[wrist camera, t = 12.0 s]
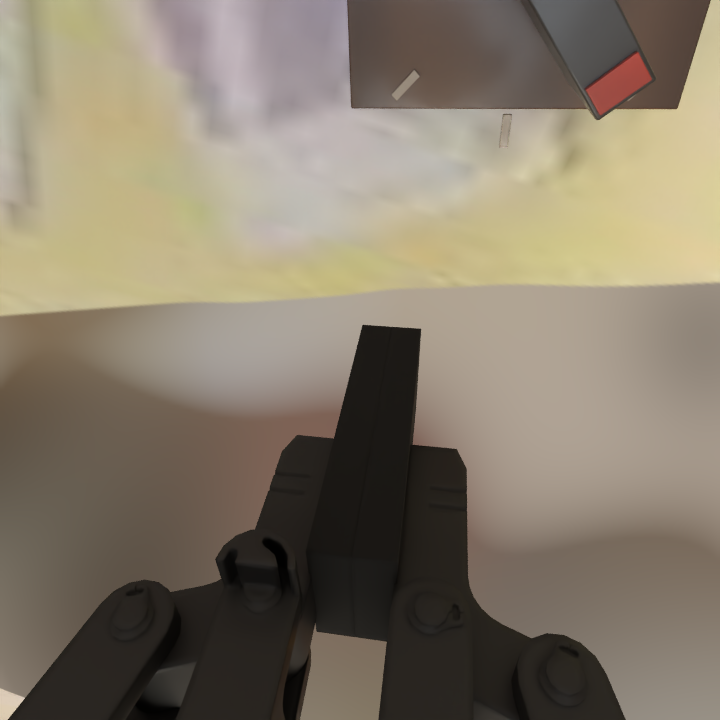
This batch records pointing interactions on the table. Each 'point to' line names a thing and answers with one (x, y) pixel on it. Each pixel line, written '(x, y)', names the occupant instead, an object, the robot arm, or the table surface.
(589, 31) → the pointer
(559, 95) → the dial console
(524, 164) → the table surface
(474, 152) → the table surface
